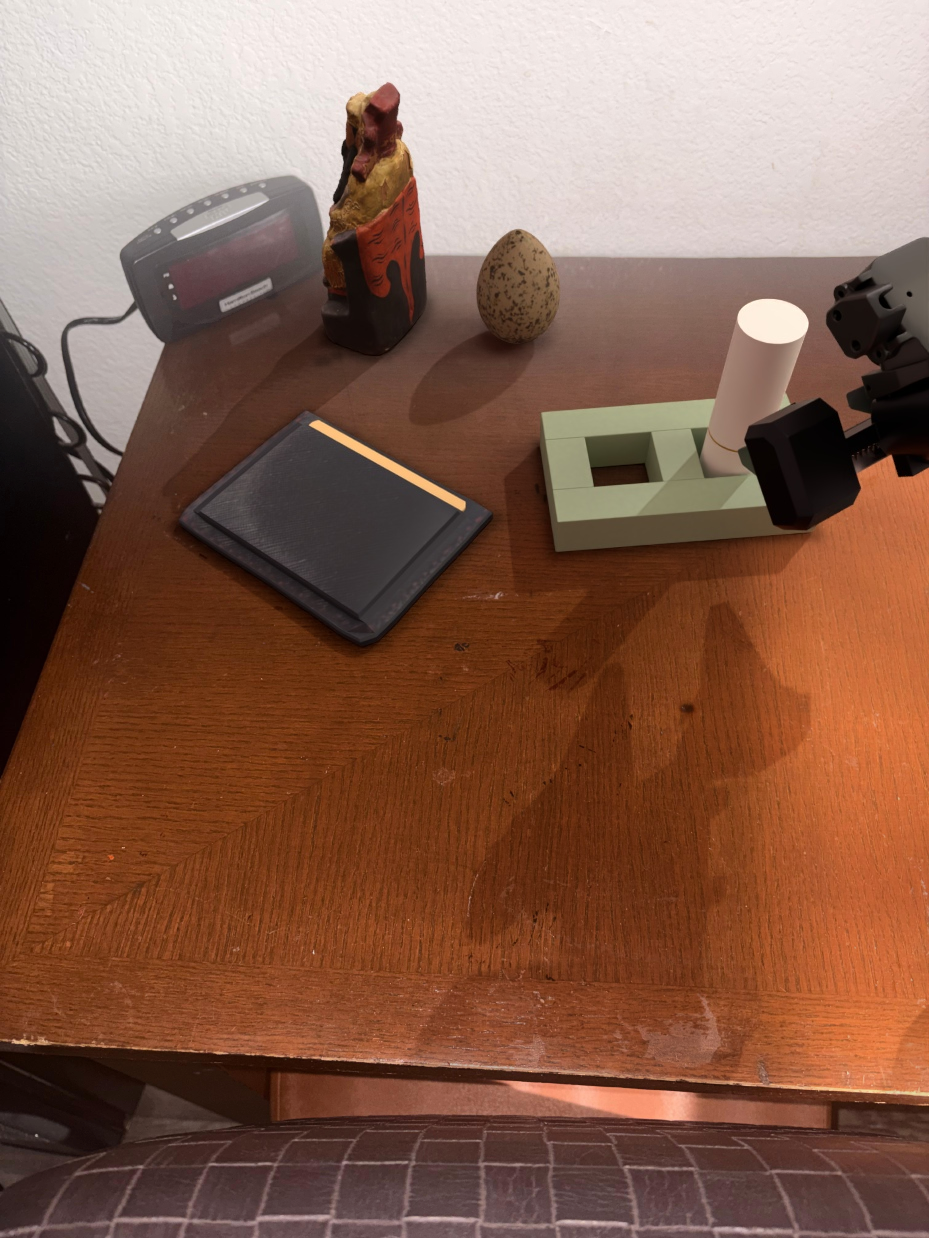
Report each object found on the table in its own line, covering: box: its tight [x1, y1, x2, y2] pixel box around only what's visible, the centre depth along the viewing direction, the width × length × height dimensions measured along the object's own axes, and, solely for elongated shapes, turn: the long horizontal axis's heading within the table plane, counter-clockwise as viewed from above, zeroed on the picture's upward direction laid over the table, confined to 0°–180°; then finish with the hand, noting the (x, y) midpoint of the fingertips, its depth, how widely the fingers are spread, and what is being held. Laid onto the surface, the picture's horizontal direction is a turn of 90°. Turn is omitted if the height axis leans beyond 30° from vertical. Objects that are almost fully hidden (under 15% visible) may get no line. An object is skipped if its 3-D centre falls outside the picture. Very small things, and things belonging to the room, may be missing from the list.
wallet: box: [177, 409, 494, 648], centre depth 64 cm, size 20×2×15 cm
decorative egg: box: [475, 228, 561, 344], centre depth 71 cm, size 7×7×10 cm
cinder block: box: [539, 392, 816, 553], centre depth 64 cm, size 11×19×4 cm, turn 93°
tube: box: [699, 298, 810, 478], centre depth 59 cm, size 4×4×15 cm
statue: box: [320, 81, 428, 356], centre depth 69 cm, size 12×8×20 cm, turn 149°
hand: (796, 428), depth 55 cm, fingers open, 9 cm apart
